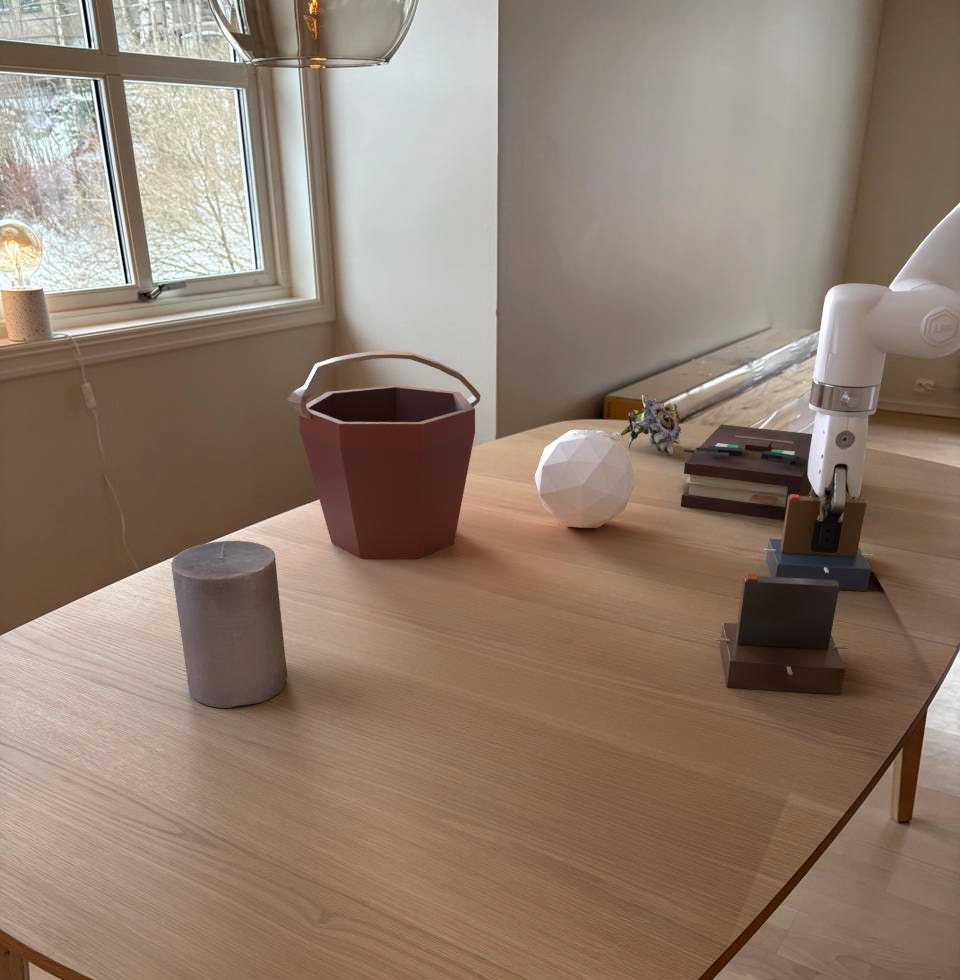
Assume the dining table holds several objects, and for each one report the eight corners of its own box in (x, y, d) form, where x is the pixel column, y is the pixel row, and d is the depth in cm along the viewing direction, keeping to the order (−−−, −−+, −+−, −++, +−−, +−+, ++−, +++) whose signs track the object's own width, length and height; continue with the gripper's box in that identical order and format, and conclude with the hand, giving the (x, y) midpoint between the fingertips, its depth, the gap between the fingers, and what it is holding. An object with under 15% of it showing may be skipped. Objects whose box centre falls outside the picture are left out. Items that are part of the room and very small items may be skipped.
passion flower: (665, 483, 177) (669, 440, 166) (609, 465, 180) (609, 422, 170) (688, 437, 181) (693, 393, 171) (633, 420, 184) (635, 375, 174)
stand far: (857, 558, 130) (861, 536, 128) (880, 599, 118) (884, 574, 117) (755, 553, 131) (758, 531, 130) (767, 592, 120) (770, 568, 118)
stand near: (831, 645, 107) (836, 619, 105) (856, 706, 95) (861, 677, 94) (708, 638, 108) (711, 612, 107) (717, 697, 97) (720, 668, 95)
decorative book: (834, 427, 162) (809, 476, 137) (827, 472, 165) (801, 527, 140) (717, 415, 169) (673, 460, 144) (712, 458, 172) (668, 509, 148)
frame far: (854, 552, 123) (864, 497, 120) (856, 557, 122) (866, 501, 119) (780, 548, 125) (788, 493, 121) (781, 553, 123) (790, 497, 120)
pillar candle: (232, 655, 105) (216, 521, 98) (307, 675, 100) (295, 537, 94) (167, 695, 97) (144, 552, 90) (245, 719, 93) (227, 571, 86)
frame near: (825, 643, 101) (837, 577, 97) (828, 650, 99) (840, 584, 96) (735, 637, 102) (744, 572, 98) (737, 644, 100) (745, 579, 97)
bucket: (290, 566, 127) (272, 369, 116) (317, 510, 147) (304, 337, 136) (479, 566, 127) (479, 369, 116) (481, 511, 147) (481, 338, 136)
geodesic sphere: (627, 462, 149) (579, 391, 141) (677, 489, 137) (628, 413, 129) (553, 529, 149) (501, 462, 141) (598, 562, 137) (543, 490, 129)
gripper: (893, 415, 107) (864, 570, 115) (863, 382, 122) (839, 522, 130) (822, 412, 108) (797, 566, 116) (800, 380, 123) (780, 519, 131)
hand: (819, 541), depth 123 cm, fingers open, 5 cm apart
